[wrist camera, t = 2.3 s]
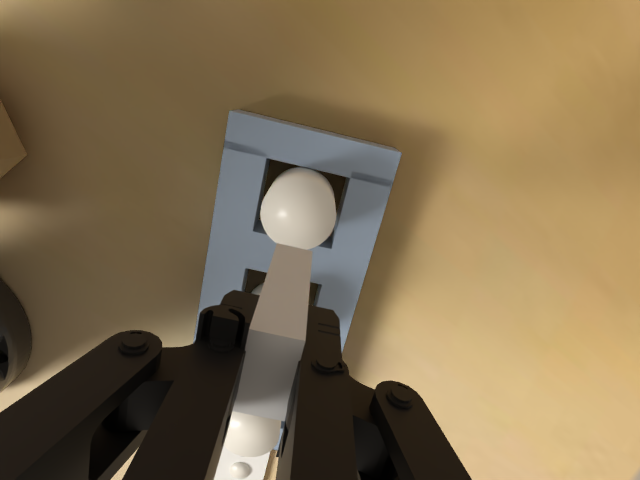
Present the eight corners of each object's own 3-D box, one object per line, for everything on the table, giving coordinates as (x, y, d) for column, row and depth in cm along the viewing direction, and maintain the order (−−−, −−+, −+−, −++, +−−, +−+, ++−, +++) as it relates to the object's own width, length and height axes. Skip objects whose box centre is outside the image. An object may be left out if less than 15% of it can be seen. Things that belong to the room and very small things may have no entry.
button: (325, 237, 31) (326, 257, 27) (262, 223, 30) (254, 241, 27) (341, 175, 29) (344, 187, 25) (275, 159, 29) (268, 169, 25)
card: (257, 500, 43) (256, 507, 42) (210, 492, 43) (208, 499, 42) (273, 435, 40) (273, 442, 40) (223, 425, 40) (221, 432, 39)
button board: (311, 430, 40) (310, 456, 37) (189, 407, 39) (179, 431, 36) (394, 147, 31) (401, 152, 28) (238, 109, 30) (229, 110, 27)
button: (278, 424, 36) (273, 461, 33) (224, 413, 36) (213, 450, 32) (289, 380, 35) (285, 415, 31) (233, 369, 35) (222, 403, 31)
